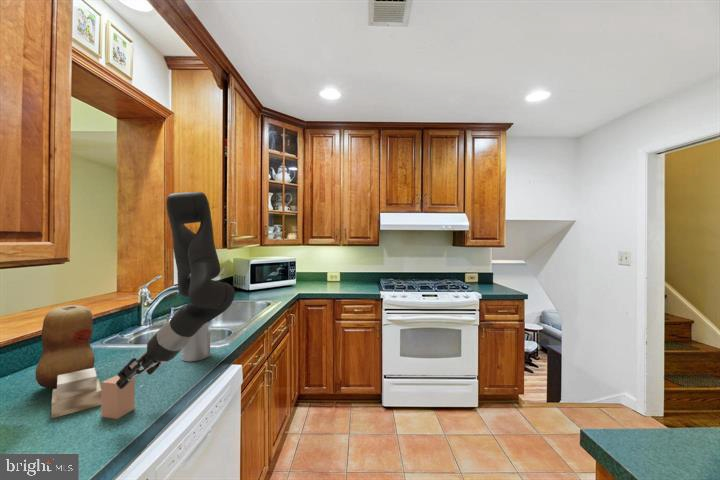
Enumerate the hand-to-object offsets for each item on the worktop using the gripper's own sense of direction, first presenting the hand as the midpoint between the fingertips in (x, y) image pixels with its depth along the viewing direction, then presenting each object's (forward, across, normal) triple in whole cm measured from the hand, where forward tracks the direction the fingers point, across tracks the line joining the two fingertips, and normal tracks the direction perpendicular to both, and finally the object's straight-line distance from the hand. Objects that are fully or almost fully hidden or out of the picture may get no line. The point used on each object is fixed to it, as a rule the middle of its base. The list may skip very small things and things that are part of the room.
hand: (134, 378), depth 84 cm
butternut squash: (+32, -10, -18) cm, 38 cm away
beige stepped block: (+21, -1, -8) cm, 22 cm away
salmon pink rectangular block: (+10, 0, +3) cm, 11 cm away
